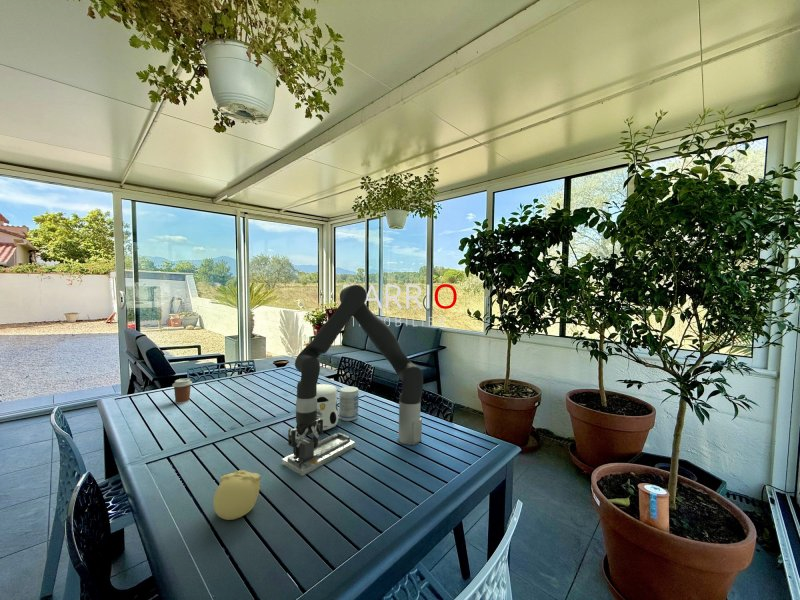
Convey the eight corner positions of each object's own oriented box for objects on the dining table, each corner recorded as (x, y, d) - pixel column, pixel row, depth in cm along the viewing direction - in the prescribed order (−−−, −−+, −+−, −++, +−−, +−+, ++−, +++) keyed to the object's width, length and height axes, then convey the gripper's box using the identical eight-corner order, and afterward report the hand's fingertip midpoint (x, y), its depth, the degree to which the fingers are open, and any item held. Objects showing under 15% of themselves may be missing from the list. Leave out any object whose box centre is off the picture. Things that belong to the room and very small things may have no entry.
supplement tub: (358, 421, 155) (358, 391, 154) (338, 422, 153) (339, 392, 153) (358, 413, 164) (358, 385, 164) (339, 414, 163) (340, 386, 162)
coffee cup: (174, 399, 177) (174, 378, 177) (193, 397, 181) (193, 377, 181) (170, 405, 169) (170, 383, 169) (190, 403, 173) (190, 381, 173)
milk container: (299, 437, 137) (300, 396, 136) (301, 420, 154) (301, 384, 153) (339, 433, 142) (340, 393, 141) (337, 417, 158) (337, 382, 158)
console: (335, 438, 137) (335, 430, 137) (355, 446, 130) (355, 438, 130) (282, 464, 116) (282, 455, 116) (302, 476, 109) (302, 466, 109)
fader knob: (307, 453, 120) (307, 437, 120) (313, 456, 118) (313, 440, 117) (298, 457, 117) (298, 441, 117) (304, 461, 114) (305, 444, 114)
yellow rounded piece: (265, 496, 98) (265, 462, 98) (247, 525, 86) (247, 487, 86) (227, 496, 98) (227, 462, 97) (205, 525, 86) (205, 487, 85)
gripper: (296, 416, 109) (295, 463, 109) (328, 405, 120) (327, 447, 121) (283, 411, 113) (283, 456, 114) (315, 400, 125) (315, 441, 125)
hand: (306, 451), depth 117 cm, fingers open, 7 cm apart
